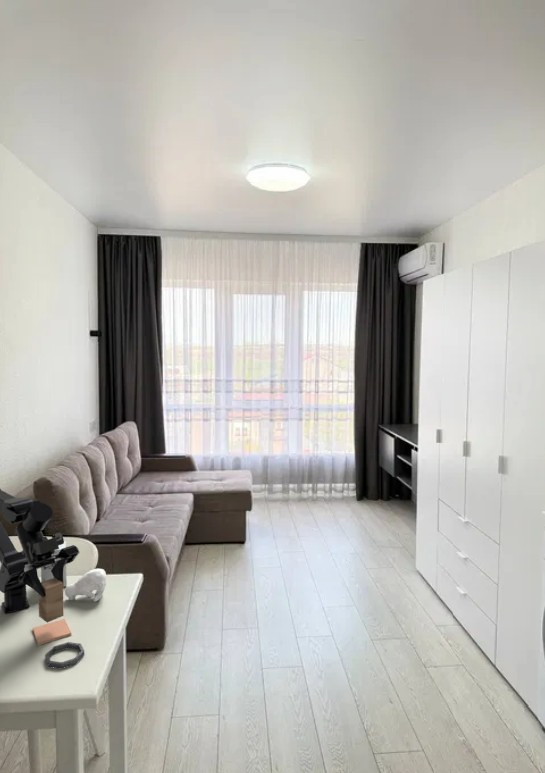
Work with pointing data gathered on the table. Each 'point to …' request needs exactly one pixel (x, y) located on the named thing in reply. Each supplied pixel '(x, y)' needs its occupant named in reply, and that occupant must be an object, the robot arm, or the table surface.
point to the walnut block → (51, 600)
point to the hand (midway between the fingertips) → (53, 593)
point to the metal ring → (62, 647)
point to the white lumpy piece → (88, 585)
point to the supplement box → (46, 570)
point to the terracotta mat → (51, 631)
